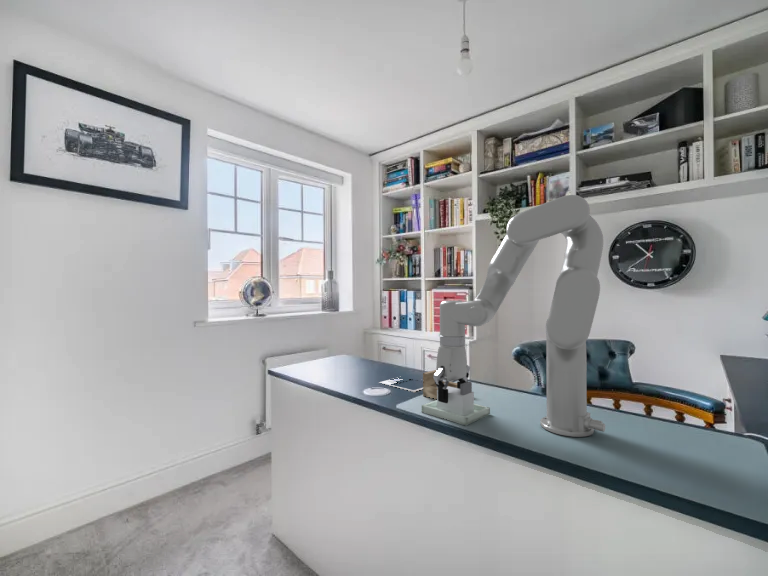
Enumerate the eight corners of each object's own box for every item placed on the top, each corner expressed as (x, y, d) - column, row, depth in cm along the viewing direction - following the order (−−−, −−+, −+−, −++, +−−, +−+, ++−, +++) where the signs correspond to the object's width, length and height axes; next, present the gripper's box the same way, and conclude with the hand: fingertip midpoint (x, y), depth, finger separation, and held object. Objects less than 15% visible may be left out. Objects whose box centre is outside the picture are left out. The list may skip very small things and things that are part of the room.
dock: (470, 396, 126) (470, 373, 126) (450, 403, 118) (450, 378, 118) (443, 389, 134) (443, 368, 134) (423, 396, 126) (423, 373, 126)
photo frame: (403, 375, 154) (438, 383, 141) (403, 378, 154) (438, 386, 141) (378, 381, 143) (414, 390, 131) (378, 384, 143) (414, 393, 131)
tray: (489, 414, 107) (489, 407, 107) (466, 425, 98) (466, 418, 98) (446, 402, 118) (446, 396, 118) (421, 411, 110) (421, 405, 110)
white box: (473, 412, 107) (473, 381, 107) (462, 417, 103) (462, 385, 103) (448, 405, 114) (448, 376, 114) (436, 409, 110) (436, 379, 110)
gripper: (458, 337, 118) (458, 390, 118) (424, 343, 106) (424, 402, 106) (478, 339, 113) (479, 395, 112) (445, 346, 101) (445, 408, 100)
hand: (452, 398), depth 109 cm, fingers open, 9 cm apart
